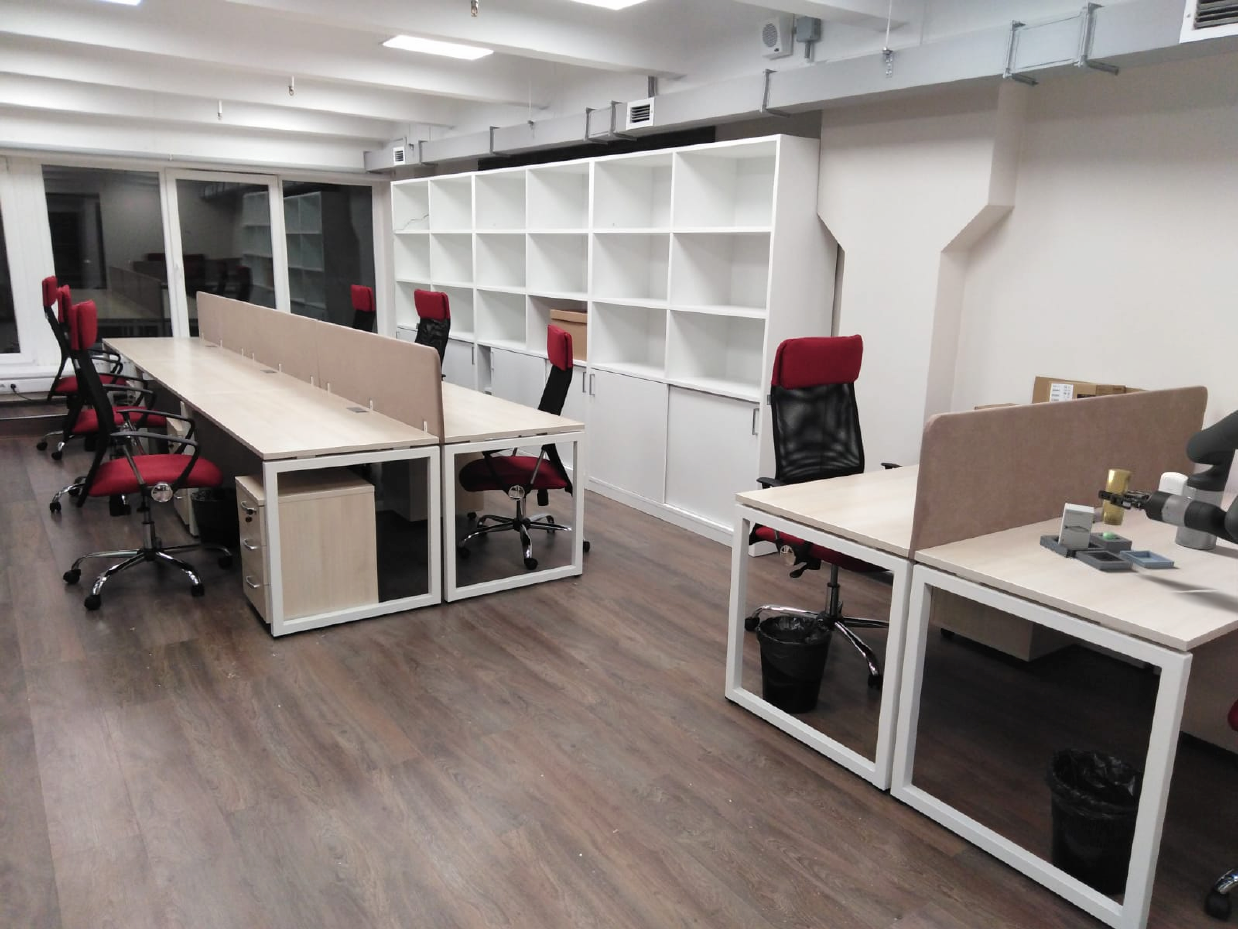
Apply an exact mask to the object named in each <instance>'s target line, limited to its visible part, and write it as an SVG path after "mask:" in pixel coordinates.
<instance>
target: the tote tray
mask: <svg viewBox="0 0 1238 929" xmlns="http://www.w3.org/2000/svg"><path fill="white" fill-rule="evenodd" d="M1118 556H1120V557H1122V558H1124V559H1126V560H1129V561H1131V562H1133V564H1134V565H1137V566H1139V567H1141V568H1143V569H1151V568H1174V567H1175V561H1174V560H1172V559H1169V558H1167V557H1165V556H1162V555H1160V554H1158V553H1156V552H1154V551H1151V550H1150V549H1149V550H1131V551H1120V552H1119V554H1118Z"/></svg>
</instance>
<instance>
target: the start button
mask: <svg viewBox="0 0 1238 929" xmlns="http://www.w3.org/2000/svg"><path fill="white" fill-rule="evenodd" d="M1102 533H1103V537H1104V538H1106V539H1116V538H1117V535H1118V534H1117V533H1115V532H1112V533H1111V531H1103V532H1102Z"/></svg>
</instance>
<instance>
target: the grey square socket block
mask: <svg viewBox="0 0 1238 929" xmlns="http://www.w3.org/2000/svg"><path fill="white" fill-rule="evenodd" d="M1110 532H1111V531H1110ZM1111 533H1113V532H1111ZM1089 540H1090V541H1093V542H1095V543H1097V544H1099V545H1101V546H1103V547H1106V548H1107V551H1109V552H1111V553H1120V551H1132V545H1133V540H1131V539H1128V538H1125V537H1124V536H1121V535H1119V534H1117V538H1116V539H1106V538H1104V537H1103V532H1091V533H1090V539H1089Z"/></svg>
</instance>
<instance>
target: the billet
mask: <svg viewBox="0 0 1238 929" xmlns="http://www.w3.org/2000/svg"><path fill="white" fill-rule="evenodd" d="M1131 475H1132V472H1131V471H1130V470H1126V469H1122V468H1109V469H1108V473H1107V478H1106V484H1105V485H1106V486H1105V491H1109V492H1113V493H1118V494H1124V493H1127V492H1128V491H1129V486H1130V480H1131ZM1117 501H1118V499H1117ZM1101 509H1102V510H1101V514H1100V520H1099V521H1100V523H1102V524H1105V525H1107V526H1108V525H1109V526H1116V527H1118V526H1122V525H1123V519H1124V514H1125V509H1124V508H1121V507H1118V506H1115V505H1112V504H1110V501H1108V500H1104V499H1103V502H1102V508H1101Z"/></svg>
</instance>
